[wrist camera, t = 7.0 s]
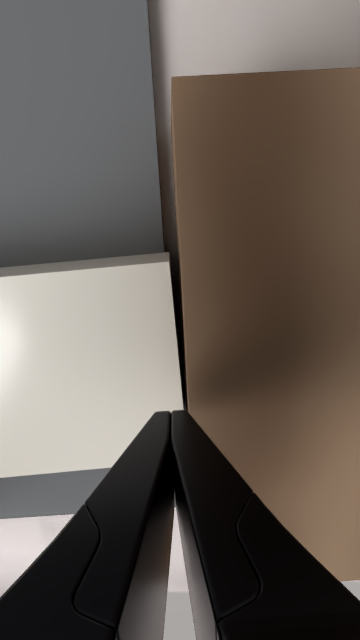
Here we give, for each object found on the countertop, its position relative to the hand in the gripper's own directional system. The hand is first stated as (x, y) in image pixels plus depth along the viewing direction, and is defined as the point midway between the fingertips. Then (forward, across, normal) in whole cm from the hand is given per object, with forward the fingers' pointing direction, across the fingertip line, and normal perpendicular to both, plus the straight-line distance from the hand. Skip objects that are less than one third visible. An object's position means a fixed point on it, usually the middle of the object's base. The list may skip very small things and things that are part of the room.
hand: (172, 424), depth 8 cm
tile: (+4, +4, 0) cm, 6 cm away
